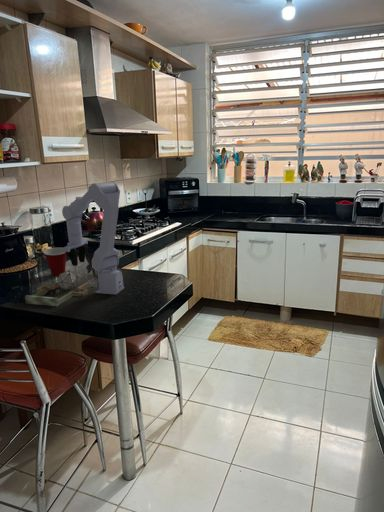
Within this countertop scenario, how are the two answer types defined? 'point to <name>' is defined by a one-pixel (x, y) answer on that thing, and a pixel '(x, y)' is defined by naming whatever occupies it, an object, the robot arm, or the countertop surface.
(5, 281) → the countertop surface
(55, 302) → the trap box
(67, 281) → the game die
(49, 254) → the plastic cup
